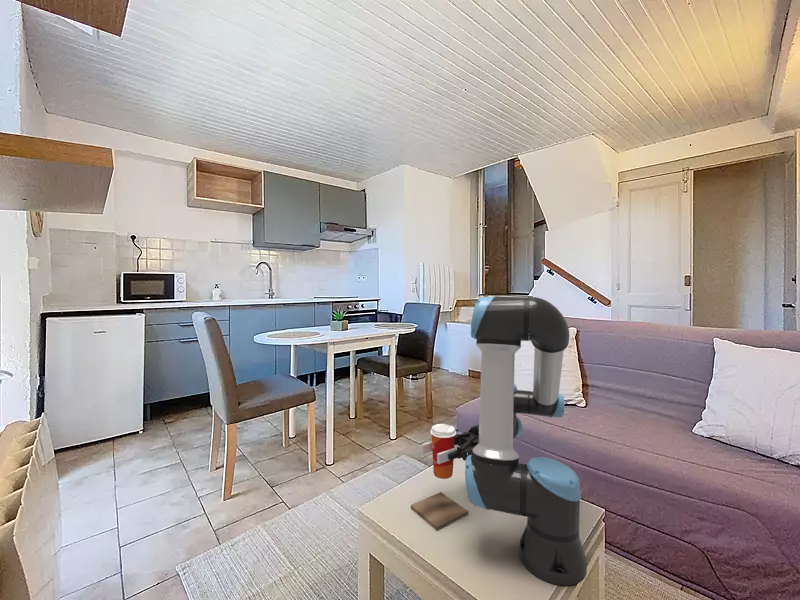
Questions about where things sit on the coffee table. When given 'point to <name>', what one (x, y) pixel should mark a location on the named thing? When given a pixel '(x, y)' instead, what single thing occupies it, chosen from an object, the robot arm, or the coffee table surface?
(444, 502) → the walnut pad
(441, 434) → the paper cup
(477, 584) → the coffee table surface
